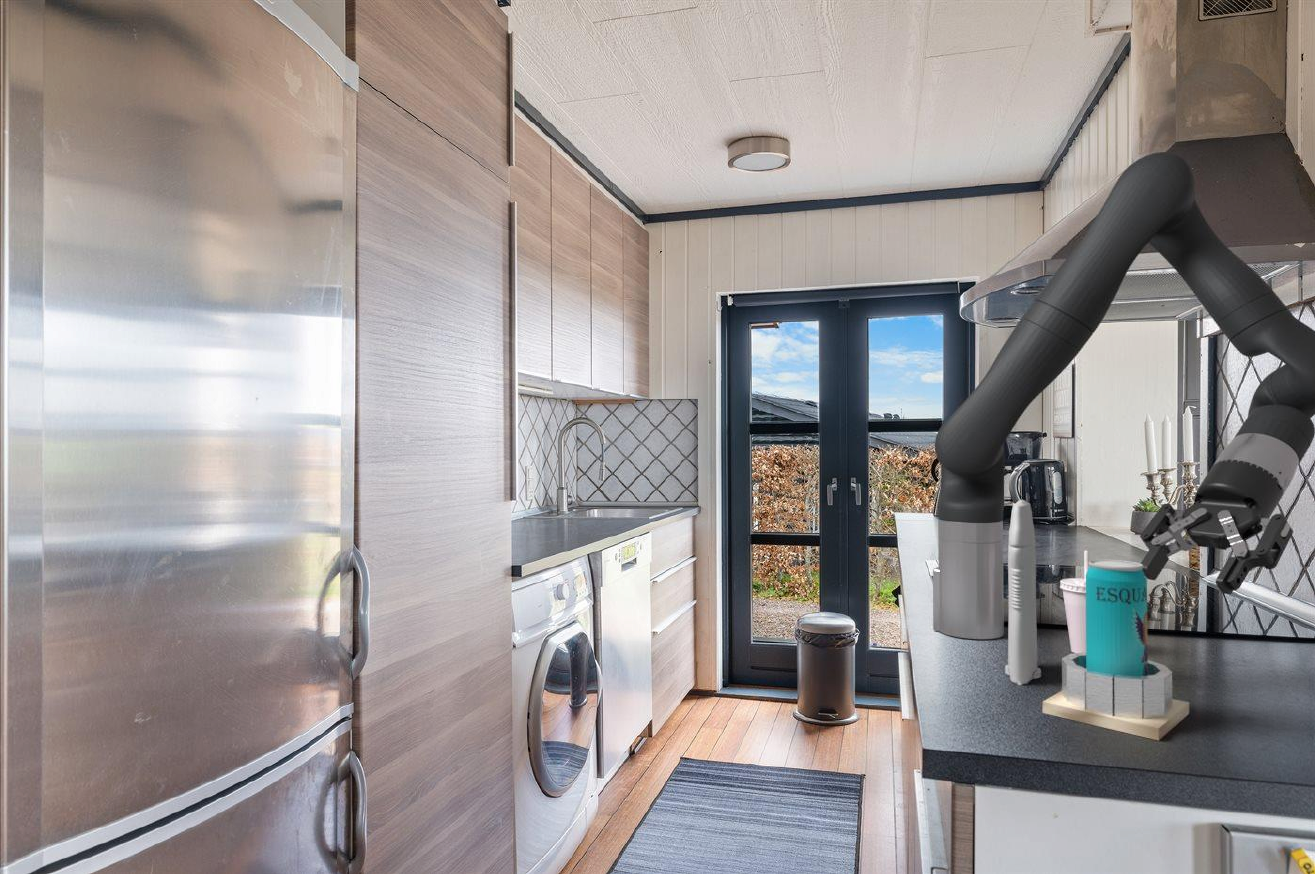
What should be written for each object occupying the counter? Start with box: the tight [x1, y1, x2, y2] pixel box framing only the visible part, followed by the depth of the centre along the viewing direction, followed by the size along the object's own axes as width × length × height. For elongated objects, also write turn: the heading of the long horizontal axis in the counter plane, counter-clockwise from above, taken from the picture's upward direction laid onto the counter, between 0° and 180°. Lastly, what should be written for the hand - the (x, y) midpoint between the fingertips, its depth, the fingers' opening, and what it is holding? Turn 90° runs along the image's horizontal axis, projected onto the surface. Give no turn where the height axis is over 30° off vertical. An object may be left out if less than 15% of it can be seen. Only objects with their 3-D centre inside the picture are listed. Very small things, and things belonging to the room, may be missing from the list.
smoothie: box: [1059, 549, 1090, 654], centre depth 110 cm, size 6×6×14 cm
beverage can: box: [1086, 559, 1149, 677], centre depth 86 cm, size 6×6×15 cm
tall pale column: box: [1004, 499, 1042, 686], centre depth 100 cm, size 11×4×22 cm, turn 149°
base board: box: [1042, 690, 1190, 741], centre depth 86 cm, size 11×11×1 cm
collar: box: [1061, 652, 1173, 719], centre depth 86 cm, size 10×10×4 cm
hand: (1183, 581), depth 91 cm, fingers open, 8 cm apart
